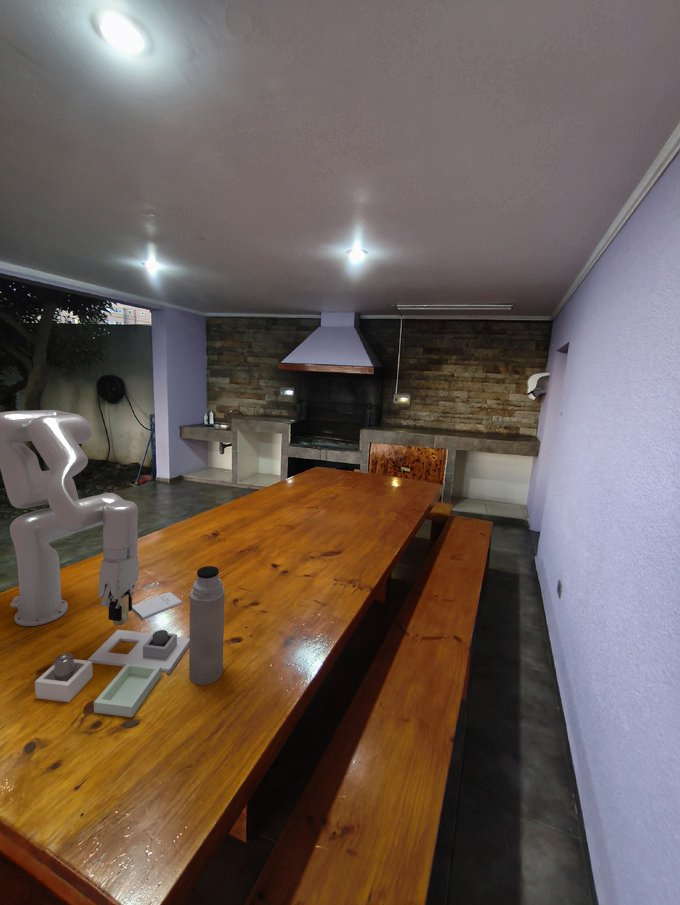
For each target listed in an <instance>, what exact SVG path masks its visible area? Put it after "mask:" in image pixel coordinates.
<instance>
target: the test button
mask: <svg viewBox="0 0 680 905" xmlns="http://www.w3.org/2000/svg"><path fill="white" fill-rule="evenodd" d="M168 633H169V632H168V631H167V630H165V629H159V630H157V631H155V632H153V633H152V634H153V646H161V647H164V646H165V645H166V644H167V642H168Z"/></svg>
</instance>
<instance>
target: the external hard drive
mask: <svg viewBox="0 0 680 905" xmlns="http://www.w3.org/2000/svg"><path fill="white" fill-rule="evenodd" d="M182 604H183V601H182V600H181V599H179V597H177V596H176V595H175V594H173V592H171V591H168V592H166V593H162V594H159V595H158V596H154V597H152V598H150V599H146V600H144V601H141V602H139V603H136V604H132V610H131V611H133V613H134V614H135V615H137V616H138V617H139V618H140V619H141V620H142V621H144V620H146V619H147V620H148V619H149V618H151V617H154V616H156V615H158V614H161V613H164V612H165V611H168V610H170V609H173V608H175V607H178V606H179V605H182Z"/></svg>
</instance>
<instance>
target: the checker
mask: <svg viewBox="0 0 680 905" xmlns="http://www.w3.org/2000/svg"><path fill="white" fill-rule="evenodd" d="M153 634H154V633H149V632H142V631H132V630H124V629H117V630H116V631H115V632H114V633H113V634H112V635H111V636H110V637H109V638H108V639H107V640H106V641H104V643H103V644H102V645H100V647H99V648H98V649H97V650H96V651H94V653H93V654H92V655H90V657H89V658H87V661H92V664H99V665H108V666H116V667H122V668H123V667H124V666H125V665H126V664H127V663H135V664H143V665H151V666H160V667H161V672H166V674H165V675H168V676H169V675H171V673H172V671H173V670H174V669H175V667H176V666H177V665H178V663H179V661H180V660H181V658H182V657H183V655H184V654H185V652H186V651H187V649H188V648H189V641H190V637H183V636H178V634H177V633H169V632H168V642H167V644H166V645H165V646H164V647H161V646H153ZM119 642H129V643H136V644H135V645H134V646H133V648H132V649H131V650H130V651H129V652H128V653H126V654H124V653H115V652H111V651H112V650H113V648H114V647H116V646H117V644H118V643H119Z"/></svg>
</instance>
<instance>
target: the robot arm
mask: <svg viewBox="0 0 680 905" xmlns="http://www.w3.org/2000/svg"><path fill="white" fill-rule="evenodd" d="M92 433H93V431H92V426H91V424H90V423H89V421H88V420H87V419H86V418H85V417H84V416H82V415H80V414H77V413H74V412H73V413H72V412H67V411H62V410H56V409H40V410H10V411H3V412H1V411H0V472H1V476H2V481H3V484H4V488H5V491H6V495H7V497H8V500H9V502H10V504H11V505H12V506H13V507H14V508H17V509H26V508H27V509H28V508H33V507H38V506H42V505H47V504H48V506H49V507H47V508H42V509H38V510H33V511H30V512H28V513H23V514H22V515H19V516H17V517H16V518H14V520H13V521H12V522H11V524H10V525H9V534H10V536H11V540H12V543H13V545H14V546H13V547H14V550H15V555H16V564H17V573H18V574H17V575H18V588H19V595H16V596H14V597H13V599H12V602H10V604H9V606H10V607H11V608H17V611H16V613H15V614H14V622H15V623H16V624H17V625H18V626H23V627H35V626H41V625H45V624H49V623H51V622H53V621H56V620H57V619H60V618H61V617H63V616H64V615H65V614H66V613H67V611H68V610H69V609H68V608H69V603H68V601H67V600H65V599H62V587H61V586H62V585H61V570H60V555H59V553H58V551H57V550H56V549H55V548H53V547H52V546H51V545H50V543H51V542H53V541H55V540H59V539H61V538H64V537H68V536H70V535H74V534H76V533H77V532H83V531H86V530H88V529H92V528H95V527H98V526H102V530H103V531H102V537H103V538H102V542H103V543H102V546H103V547H102V548H103V549H102V552H103V553H102V555H103V556H102V557H103V559H102V561H101V564H100V567H99V568H100V570H99V575H98V576H99V577H98V597H99V598H102V599H101V603H100V606H101V607H107V608H108V620H109V621H112V622H113V621H121V620H122V606H120V603H121V596H122V595H123V594H124V593H125V592H126V593H128V595H129V602H128V612H131V611H133V610H132V606H133V595H134V587H136V586H135V584H136V583H138V580H139V572H140V570H139V556H138V538H139V537H138V536H139V534H138V532H139V531H138V530H139V523H138V522H139V508H138V504H136V503H135V502H133V501H131V500H125V499H124V498H122V496H120V495H118V494H116V493H114V492H106V493H100V494H98V495H92V496H88V497H83V498H80V499H79V495H78V491H77V487H76V484H75V480H74V479H73V477H75V476H77V475H78V474H79V473H81V472H82V471H83V470H84V469H85V468H86V467H87V465H88V462H89V458H88V456H87V454H86V453H85V452H84V450H83V449H82V448H81V446H80V444H85V443H87V442H89V441H90V439H91V438H92ZM22 442H31V443H32V444H33V446H34V448H35V449H36V451H37V452H38V454H39V455H40V457H41V458H42V460H43V461H44V463H45V464H46V466H47V467H48V470H42V469H41V466H40V464H39V462H40V461H39V459H38V456H37V454H36V453H35V452H34V451H33V450H31V448H29V447H28V446H26V445H25V444H24V443H22ZM113 599H116V602H114V601H113Z"/></svg>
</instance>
